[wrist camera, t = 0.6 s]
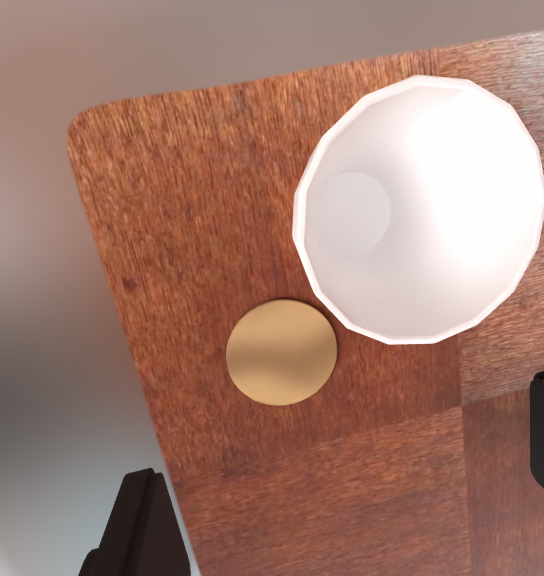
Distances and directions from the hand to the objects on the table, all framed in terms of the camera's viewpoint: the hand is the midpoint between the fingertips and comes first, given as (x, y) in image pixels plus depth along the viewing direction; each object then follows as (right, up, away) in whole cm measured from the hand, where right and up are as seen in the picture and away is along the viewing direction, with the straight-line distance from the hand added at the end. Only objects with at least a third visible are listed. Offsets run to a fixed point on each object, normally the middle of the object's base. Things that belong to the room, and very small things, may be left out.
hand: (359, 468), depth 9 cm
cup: (+4, +10, +19) cm, 22 cm away
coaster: (-1, -1, +21) cm, 21 cm away
